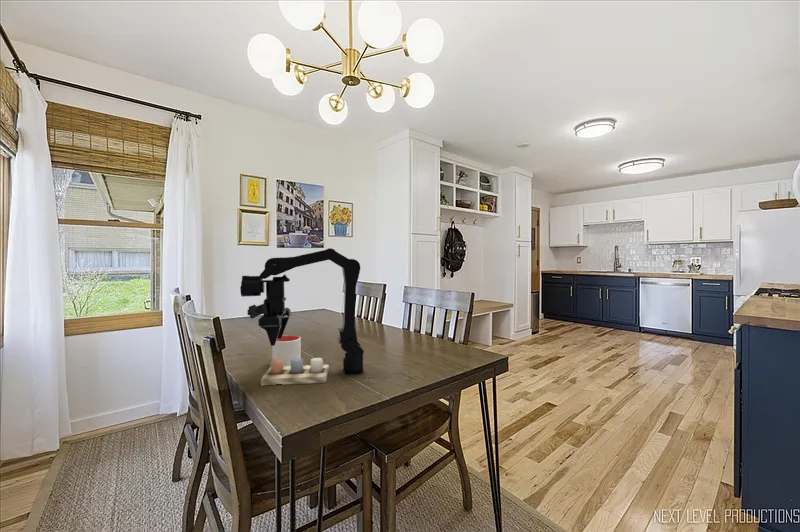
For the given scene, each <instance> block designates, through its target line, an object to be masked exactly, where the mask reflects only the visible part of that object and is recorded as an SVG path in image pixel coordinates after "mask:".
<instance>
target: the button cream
mask: <svg viewBox="0 0 800 532" xmlns="http://www.w3.org/2000/svg"><path fill="white" fill-rule="evenodd" d="M323 359H324V358H323V357H313V358H311V359H310V365H311V373H321V372H322V371H323V365H324V360H323Z"/></svg>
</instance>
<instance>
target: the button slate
mask: <svg viewBox="0 0 800 532" xmlns="http://www.w3.org/2000/svg"><path fill="white" fill-rule="evenodd" d="M303 366H304V359H303V358H301V359H300V358H297V359H292V360H291V373H292V374H300V373H302V372H303Z"/></svg>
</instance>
